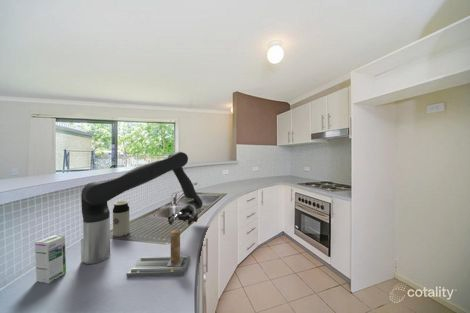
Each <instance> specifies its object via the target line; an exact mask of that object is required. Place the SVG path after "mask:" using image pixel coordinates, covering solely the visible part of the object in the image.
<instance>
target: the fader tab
mask: <svg viewBox="0 0 470 313" xmlns="http://www.w3.org/2000/svg"><path fill="white" fill-rule="evenodd" d="M180 256H181V230H180V229H173V230H171V231H170V257H171V259H170V261H169V263H168V264H167V267H180V266H181V264H182V262H183V259H184V257H180Z"/></svg>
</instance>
